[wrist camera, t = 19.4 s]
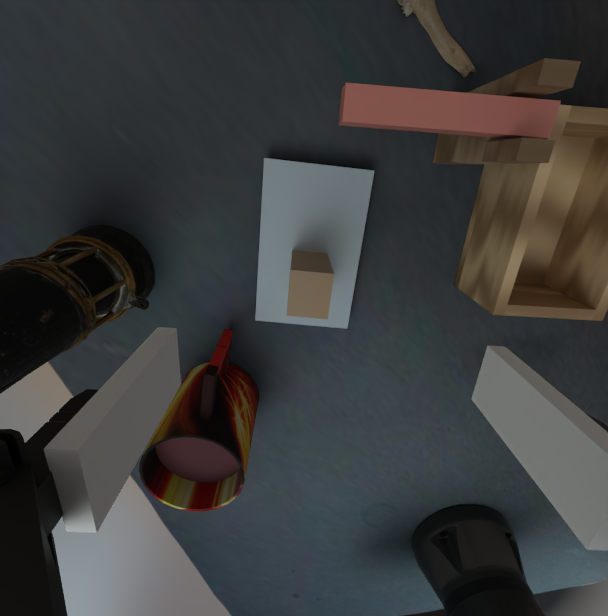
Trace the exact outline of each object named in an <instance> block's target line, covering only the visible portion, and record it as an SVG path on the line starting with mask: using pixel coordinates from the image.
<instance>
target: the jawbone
mask: <svg viewBox="0 0 608 616" xmlns="http://www.w3.org/2000/svg"><path fill="white" fill-rule="evenodd" d="M397 2H398V4H400V5H402V6H403V7H402V10H404V11H403V14H406V17H407V16H409V15H410V14H411V13H412V12H413V13H414V14H415V15H416V16H417V18H418V20H419V21H420V23H421V25H422V26H423V27H424V28H425V30H426V31H427V32H428V34H429V35H430V37H431V39H432V42H433V44H434V45H435V47H436V48H437V50H438V52H439V53H440V54H441V56H442V57H443V58H444V60H445V61H446V62H447V63H448V64H449V65H451V66H452V67H453V68H455V69H456V70H457V71H458V72H459V73H460V74H461V75H462V76H463V78H465V77H466V76H467V75H469V73H470V72H471V71H472V72H474V73H475V72H476V69H475V67H474V65H473V64H472V62H471V60H470V59H469V57H468V56H467V55H466V53H465V52H464V51H463V49H462V48H461V47H460V46H459V44H458V43H457V42H456V41H455V40H454V39H453V38H452V37H451V36H450V34H449V33H448V31H447V30H446V28H445V26H444V24H443V23H442V20H441V18H440V16H439V13H438V11H437V8H436V5H435V1H434V0H397Z"/></svg>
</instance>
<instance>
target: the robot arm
mask: <svg viewBox="0 0 608 616" xmlns="http://www.w3.org/2000/svg"><path fill="white" fill-rule="evenodd" d="M180 386H181V377H180V365H179V352H178V339H177V328H164V327H158V328H157V329H156V330H155V331H154V332H153V333H152V334H151V335H150V336H149V337H148V338H147V339H146V340H145V341H144V342H143V344H142V345H141V346H140V347H139V348H138V349H137V350H136V351H135V352H134V353H133V354H132V355H131V356H130V357H129V358H128V360H127V361H126V362H125V363H124V364H123V365H122V366H121V367H120V368H119V369H118V370H117V371H116V372H115V373H114V374H113V376H112V377H111V378H110V379H109V380H108V381H107V382H106V383H105V384H104V385H103V386H102V387H101V388H100V389H99V390H90V389H87V390H85V391H84V392H82V393H80V394H78V395H77V396H75V397H73V398H71V399H70V400H69V401H68V402H67V403H66V404H65V405H64V406H63V407H62V408H61V409H60V410H59V412H58V413H56V414H55V415H54V416H53V417H52V418H51V419H50V420H49V422H47V423H45V424H44V426H42V427H41V428H40V429H39V430H38V431H37V432H36V433H35V434H34V435H33V436H32V437H31V438H30V439H29V440H28V441H27V442H26V443H25V442H24V439H23V437H22V435H21V434H20V432H19V431H15V430H12V429H0V616H67V611H66V606H65V600H64V594H63V589H62V583H61V577H60V572H59V566H58V561H57V555H56V549H55V544H54V538H53V535H52V532H51V531H52V530H53V528H54V527H55V526H56V524H57V523H58V521H59V520H60V518H61V517H63V521H64V524H65V528H66V531H67V532H93V533H97V531H98V530H99V528H100V526H101V524H102V523H103V521H104V519H105V517H106V515H107V514H108V512H109V510H110V508H111V507H112V505H113V503H114V501H115V500H116V498H117V496H118V494H119V493H120V491H121V489H122V487H123V485H124V484H125V482H126V480H127V479H128V477H129V475H130V473H131V472H132V470H133V468H134V466H135V465H136V463H137V461H138V459H139V458H140V456H141V454H142V452H143V451H144V449H145V447H146V445H147V444H148V442H149V440H150V438H151V437H152V435H153V433H154V431H155V429H156V428H157V426H158V424H159V422H160V421H161V419H162V417H163V415H164V414H165V412H166V410H167V408H168V407H169V405H170V403H171V401H172V400H173V398H174V396H175V394H176V393H177V391H178V389H179V387H180ZM472 401H473V402H474V403H475V405H476V406H477V407H478V408H479V410H480V411H481V412H482V414H483V415H484V416H485V418H486V419H487V420H488V421H489V423H490V424H491V425H492V427H493V428H494V429H495V431H496V432H497V433H498V435H499V436H500V437H501V438H502V440H503V441H504V442H505V444H506V445H507V446H508V448H509V449H510V450H511V451H512V453H513V454H514V455H515V457H516V458H517V459H518V461H519V462H520V463H521V465H522V466H523V467H524V468H525V470H526V471H527V472H528V474H529V475H530V476H531V478H532V479H533V480H534V482H535V483H536V484H537V485H538V487H539V488H540V489H541V491H542V492H543V493H544V495H545V496H546V497H547V498H548V500H549V501H550V502H551V504H552V505H553V506H554V508H555V509H556V510H557V512H558V513H559V514H560V515H561V517H562V518H563V519H564V521H565V522H566V523H567V525H568V526H569V527H570V528H571V530H572V531H573V532H574V534H575V535H576V536H577V538H578V539H579V540H580V542H581V543H582V544H583V545H584V547H585V548H586V549H587V550H608V427H607V426H606V425H605V424H604V423H602V422H600V421H599V420H597V419H595V418H593V417H592V416H590V415H588V414H586V413H584V412H583V411H582V410H580V409H579V408H578V407H577V406H576V405H574V404H573V403H572V402H571V401H570V400H568V399H567V398H566V397H565V396H564V395H562V394H561V393H560V392H559V391H558V390H557V389H555V388H554V387H553V386H552V385H551V384H549V383H548V382H547V381H546V380H545V379H543V378H542V377H541V376H540V375H539V374H537V373H536V372H535V371H534V370H533V369H531V368H530V367H529V366H528V365H527V364H525V363H524V362H523V361H522V360H521V359H519V358H518V357H517V356H516V355H515V354H513V353H512V352H511V351H510V350H509V349H507V348H506V347H504V346H487V349H486V352H485V356H484V359H483V362H482V366H481V369H480V372H479V376H478V379H477V382H476V386H475V389H474V392H473V396H472ZM412 547H413V551H414V554H415V557H416V561H417V563H418V565H419V567H420V569H421V571H422V572H423V574H424V575H425V577H426V579H427V580H428V582H429V583H430V585H431V587H432V588H433V590H434V591H435V593H436V594H437V596H438V598H439V599H440V601H441V602H442V604H443V606H444V609H445V612H446V615H447V616H545V615H544V613H543V611H542V609H541V608H540V606H539V604H538V602H537V600H536V599H535V597H534V595H533V593H532V591H531V589H530V587H529V586H528V584H527V581H526V578H525V574H524V570H523V566H522V562H521V558H520V554H519V550H518V546H517V542H516V539H515V536H514V534H513V532H512V530H511V528H510V527H509V525H508V523H507V522H506V520H505V518H504V517H503V516H502V515H501V514H500V513H498V512H496V511H495V510H493V509H490V508H487V507H483V506H477V505H463V506H456V507H451V508H448V509H445V510H442V511H440V512H437V513H435V514H434V515H432V516H430V517H429V518H427V519H426V520H425V521H424V522H422V523H421V524H420V526H419V527H418V528H417V529H416V531H415V533H414V535H413V539H412Z"/></svg>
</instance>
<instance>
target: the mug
mask: <svg viewBox="0 0 608 616" xmlns="http://www.w3.org/2000/svg"><path fill="white" fill-rule="evenodd" d="M232 334H233V331H232V330H227V329H224V331H223V334H222V336H221V338H220V340H219V342H218V345H217V347H216V349H215V352H214V354H213V356H212V358H211V360H210V362H208V363H204V364H201V365H199V366H197V367H195V368H193V369H192V370H191V371H190V372H189V373H188V374H187V375H186V377H185V378H184V380H183V382H182V384H181V386H180V387H179V389H178V391H177V393H176V395H175V397H174V399H173V400H172V402H171V404H170V406H169V408H168V410H167V411H166V413H165V415H164V417H163V419H162V421H161V423H160V424H159V426H158V428H157V430H156V432H155V434H154V436H153V437H152V439H151V441H150V443H149V445H148V447H147V448H146V450H145V452H144V454H143V456H142V458H141V461H140V466H139V472H140V478H141V480H142V482H143V484H144V486H145V487H146V489H147V490H148V491H149V492H150V493H151V494H152V495H153V496H154V497H155V498H157V499H158V500H160V501H161V502H163V503H165V504H167V505H169V506H172V507H174V508H178V509H181V510H188V511H208V510H213V509H217V508H220V507H222V506H224V505H227V504H228V503H230V502H231V501H233V500H234V499H235V498H236V497H237V496H238V495H239V493H240V492H241V490H242V488H243V485H244V481H245V475H246V469H247V464H248V458H249V452H250V446H251V440H252V435H253V429H254V423H255V417H256V411H257V406H258V400H259V392H258V388H257V385H256V383H255V381H254V380H253V378H252V377H251V376H250V375H249V374H248V373H247V372H246V371H245V370H243V369H241V368H240V367H238V366H236V365H233V364H230V363H229V357H230V348H231V340H232Z"/></svg>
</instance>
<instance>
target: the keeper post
mask: <svg viewBox="0 0 608 616" xmlns="http://www.w3.org/2000/svg"><path fill="white" fill-rule="evenodd" d="M580 63H581V61H572V60H560V59H549V58H544V59H542V60H539V61H537V62H535V63H533V64H530V65H528V66H526V67H524V68H521V69H519V70H517V71H515V72H512V73H510V74H508V75H506V76H503V77H501V78H499V79H497V80H494V81H492V82H490V83H488V84H485V85H483V86H481V87H479V88H476V89H474V90H472V91H470V92H467V93H475V94H487V95H499V96H511V97H523V98H539V97H542V96H546V95H549V94H552V93H556V92H559V91H563V90H566V89H570V88H573V85H574V82H575V78H576V75H577V72H578V69H579V66H580ZM555 141H556V140H545V139H532V138H516V139H506V138H493V137H481V136H468V135H455V134H442V133H438V138H437V143H436V148H435V153H434V159H433V163H438V164H451V165H461V164H516V163H549V160H550V157H551V154H552V150H553V147H554V144H555Z"/></svg>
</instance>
